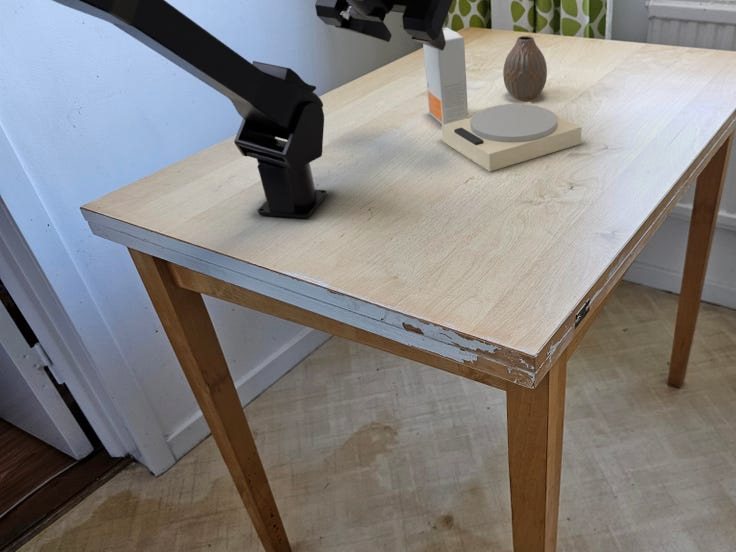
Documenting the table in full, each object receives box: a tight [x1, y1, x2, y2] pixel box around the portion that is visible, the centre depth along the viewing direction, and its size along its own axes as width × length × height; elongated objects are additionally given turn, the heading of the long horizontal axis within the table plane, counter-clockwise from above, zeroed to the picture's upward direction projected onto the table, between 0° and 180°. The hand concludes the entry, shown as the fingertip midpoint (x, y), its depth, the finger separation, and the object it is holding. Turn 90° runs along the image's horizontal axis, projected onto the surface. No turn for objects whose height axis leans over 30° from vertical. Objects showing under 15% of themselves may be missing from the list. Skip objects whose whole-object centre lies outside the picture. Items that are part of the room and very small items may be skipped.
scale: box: [441, 101, 583, 173], centre depth 92 cm, size 15×12×3 cm
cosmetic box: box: [422, 27, 469, 126], centre depth 97 cm, size 6×4×12 cm
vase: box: [502, 35, 548, 101], centre depth 105 cm, size 7×7×9 cm
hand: (416, 42), depth 89 cm, fingers open, 9 cm apart
